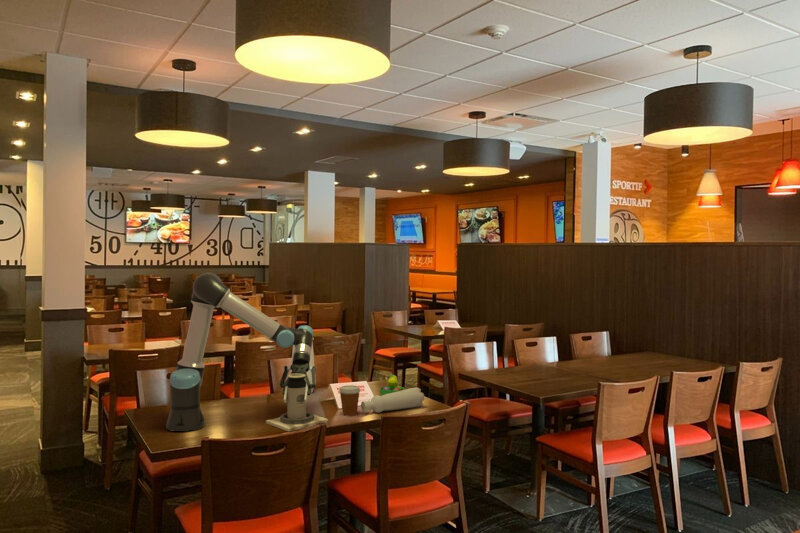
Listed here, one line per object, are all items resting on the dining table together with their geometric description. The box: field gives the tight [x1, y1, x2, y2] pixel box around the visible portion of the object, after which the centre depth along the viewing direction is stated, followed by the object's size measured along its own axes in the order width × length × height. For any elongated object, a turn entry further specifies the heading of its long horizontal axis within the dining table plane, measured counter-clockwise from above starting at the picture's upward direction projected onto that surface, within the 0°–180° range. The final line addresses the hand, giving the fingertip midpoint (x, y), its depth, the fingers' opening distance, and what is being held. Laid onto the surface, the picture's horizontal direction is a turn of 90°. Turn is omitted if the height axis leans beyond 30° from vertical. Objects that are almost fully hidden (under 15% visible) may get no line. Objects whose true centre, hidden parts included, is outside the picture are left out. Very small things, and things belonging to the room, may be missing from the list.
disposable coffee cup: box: [338, 384, 361, 416], centre depth 276 cm, size 10×10×12 cm
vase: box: [290, 337, 317, 394], centre depth 318 cm, size 13×13×28 cm
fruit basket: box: [379, 374, 405, 396], centre depth 305 cm, size 11×9×11 cm
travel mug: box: [286, 373, 307, 419], centre depth 262 cm, size 8×8×18 cm
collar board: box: [265, 411, 329, 433], centre depth 262 cm, size 20×17×3 cm
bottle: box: [360, 387, 425, 414], centre depth 282 cm, size 9×9×30 cm
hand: (295, 401), depth 258 cm, fingers closed on travel mug, 8 cm apart
